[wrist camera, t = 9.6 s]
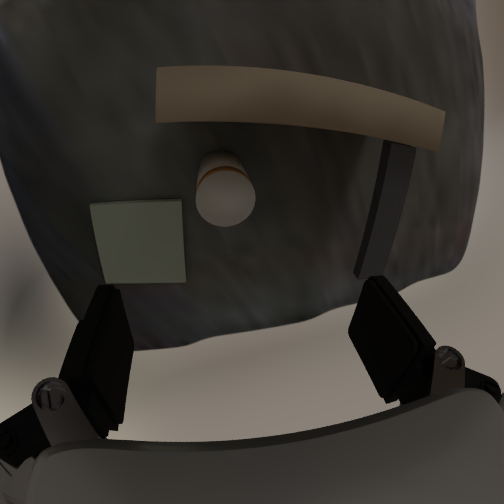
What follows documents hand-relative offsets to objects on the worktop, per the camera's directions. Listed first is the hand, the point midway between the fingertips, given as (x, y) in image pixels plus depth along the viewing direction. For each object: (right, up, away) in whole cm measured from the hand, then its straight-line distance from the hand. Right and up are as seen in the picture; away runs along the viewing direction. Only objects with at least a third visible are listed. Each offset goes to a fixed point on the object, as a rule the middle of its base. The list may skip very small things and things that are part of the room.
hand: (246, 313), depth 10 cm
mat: (-11, +3, +17) cm, 20 cm away
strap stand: (+3, +15, +12) cm, 19 cm away
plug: (-3, +9, +14) cm, 17 cm away
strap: (+10, +5, +10) cm, 15 cm away
